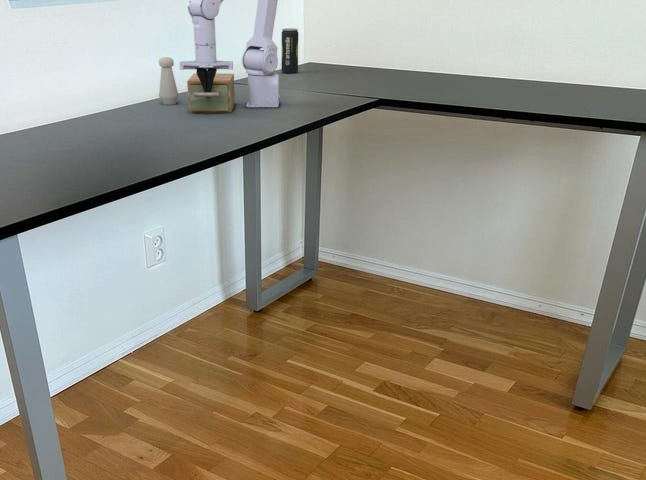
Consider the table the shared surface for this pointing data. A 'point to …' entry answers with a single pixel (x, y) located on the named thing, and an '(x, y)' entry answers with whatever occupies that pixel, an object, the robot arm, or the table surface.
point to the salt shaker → (167, 82)
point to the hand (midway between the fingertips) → (208, 97)
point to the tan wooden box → (218, 79)
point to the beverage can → (289, 50)
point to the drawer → (214, 103)
